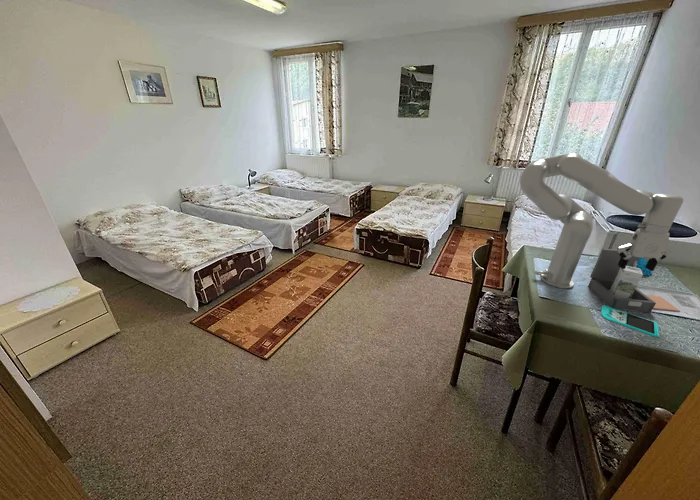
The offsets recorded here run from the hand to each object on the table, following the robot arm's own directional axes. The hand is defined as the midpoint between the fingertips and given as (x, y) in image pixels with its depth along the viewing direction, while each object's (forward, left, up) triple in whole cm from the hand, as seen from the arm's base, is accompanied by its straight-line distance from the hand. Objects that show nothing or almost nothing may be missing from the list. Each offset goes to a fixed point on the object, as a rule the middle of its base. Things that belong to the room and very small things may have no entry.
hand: (634, 268), depth 113 cm
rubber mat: (+13, 0, -15) cm, 20 cm away
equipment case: (-1, 0, -15) cm, 15 cm away
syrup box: (-1, 0, -15) cm, 15 cm away
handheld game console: (-6, -15, -16) cm, 22 cm away
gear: (+26, +29, -15) cm, 42 cm away
